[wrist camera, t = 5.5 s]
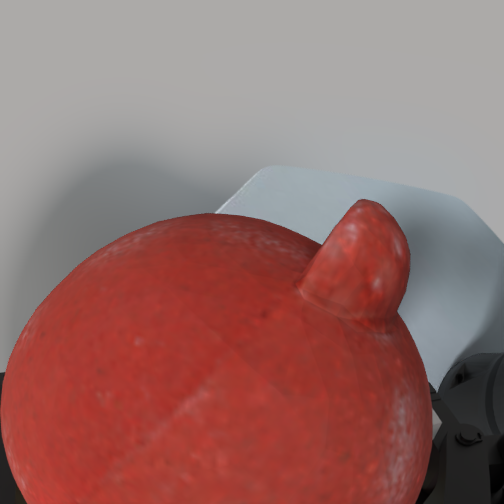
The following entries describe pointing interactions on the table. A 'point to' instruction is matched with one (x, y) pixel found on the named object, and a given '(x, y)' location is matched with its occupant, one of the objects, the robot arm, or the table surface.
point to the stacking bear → (224, 370)
